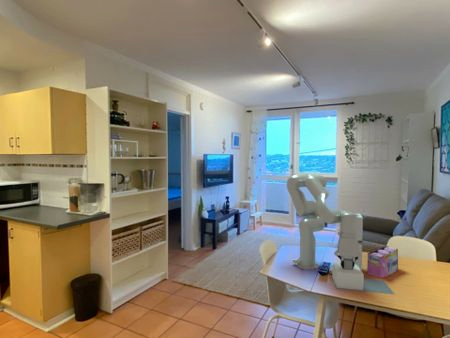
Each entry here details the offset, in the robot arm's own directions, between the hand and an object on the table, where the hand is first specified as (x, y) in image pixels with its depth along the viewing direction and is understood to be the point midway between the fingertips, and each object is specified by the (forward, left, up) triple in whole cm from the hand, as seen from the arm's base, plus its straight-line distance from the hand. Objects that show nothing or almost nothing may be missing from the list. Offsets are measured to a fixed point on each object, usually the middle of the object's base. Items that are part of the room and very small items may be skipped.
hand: (347, 267), depth 151 cm
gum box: (+25, +22, -10) cm, 35 cm away
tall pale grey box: (+6, +20, -10) cm, 23 cm away
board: (+7, 0, -10) cm, 12 cm away
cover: (0, 0, -9) cm, 9 cm away
